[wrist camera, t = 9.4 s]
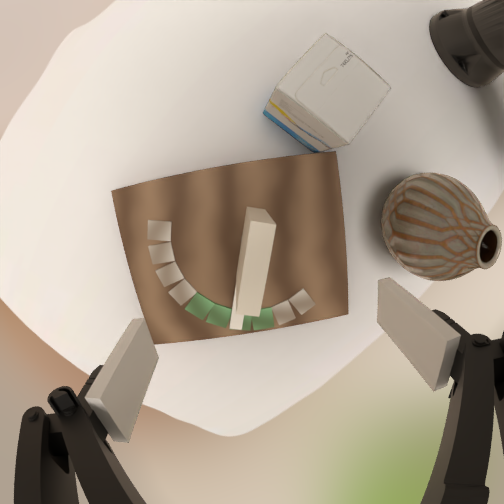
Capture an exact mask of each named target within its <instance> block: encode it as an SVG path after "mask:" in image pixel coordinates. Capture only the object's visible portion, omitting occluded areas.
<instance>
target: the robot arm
mask: <svg viewBox="0 0 504 504" xmlns="http://www.w3.org/2000/svg"><path fill="white" fill-rule="evenodd" d="M430 33H431V37H432V40H433V43H434V46H435V48H436V50H437V52H438V54H439V55H440V57H441V59H442V60H443V62H444V63H445V64H446V66H447V67H448V68H449V69H450V71H451V72H452V73H453V74H454V75H455V76H456V77H457V78H458V79H460V80H461V81H462V82H464V83H465V84H467V85H469V86H472V87H481V86H485V85H488V84H490V83H491V82H492V81H493V80H495V79H496V78H497V77H498V76H499V75H500V74H501V73H503V72H504V0H483V1H481V2H479V3H477V4H475V5H473V6H471V7H469V8H465V9H451V10H444V11H441V12H439V13H438V14H436V15H435V16H433V17H432V19H431V22H430ZM377 323H378V324H379V325H380V326H381V327H382V329H383V330H384V331H385V332H386V333H387V334H388V336H389V337H390V338H391V339H392V340H393V342H394V343H395V344H396V345H397V346H398V348H399V349H400V350H401V351H402V353H403V354H404V355H405V356H406V357H407V359H408V360H409V361H410V362H411V364H412V365H413V366H414V367H415V369H416V370H417V371H418V372H419V374H420V375H421V376H422V378H423V379H424V380H425V381H426V383H427V384H428V385H429V386H430V388H431V389H432V390H433V391H436V390H438V389H441V388H443V387H445V386H447V383H448V380H449V377H450V376H451V377H452V378H453V379H454V383H453V386H452V389H451V392H450V395H449V398H451V399H450V404H449V409H448V414H447V419H446V424H445V428H444V432H443V437H442V441H441V444H440V449H439V452H438V455H437V459H436V462H435V465H434V468H433V471H432V474H431V477H430V480H429V483H428V486H427V489H426V491H425V494H424V496H423V499H422V501H421V504H487V502H488V498H489V488H488V487H486V486H485V479H486V474H487V469H488V462H489V457H490V449H491V441H492V431H493V418H494V417H493V416H494V406H495V410H496V415H497V419H498V424H499V429H500V435H501V441H502V447H503V454H504V332H503V335H502V338H501V339H496V340H490V339H489V338H488V337H487V336H485V335H482V334H473V335H470V334H469V333H468V332H467V331H465V329H463V328H462V327H461V326H460V325H458V324H457V323H455V321H454V320H452V319H450V317H449V316H447V315H446V314H445V313H443V312H441V311H438V310H430V309H429V308H428V307H426V306H425V305H424V304H423V303H422V302H421V301H419V300H418V299H417V298H416V297H414V296H413V295H412V294H411V293H409V292H408V291H407V290H405V289H404V288H403V287H402V286H400V285H399V284H398V283H397V282H395V281H394V280H393V279H391V278H390V277H389V278H385V279H380V280H378V312H377ZM158 359H159V357H158V354H157V351H156V349H155V346H154V343H153V341H152V338H151V335H150V332H149V329H148V327H147V324H146V321H145V318H140V319H132V321H131V322H130V324H129V326H128V327H127V329H126V330H125V332H124V333H123V335H122V337H121V338H120V340H119V341H118V343H117V344H116V346H115V348H114V349H113V351H112V352H111V354H110V356H109V357H108V359H107V361H106V362H105V364H104V365H100V366H98V367H97V368H96V369H95V370H94V371H93V372H92V373H91V375H90V377H89V379H88V380H87V382H86V385H84V386H83V388H82V390H81V391H80V393H79V395H78V396H77V397H76V395H75V393H74V391H73V390H72V389H71V388H70V387H68V386H62V387H59V388H57V389H55V390H53V391H52V392H51V393H50V394H49V396H48V403H49V404H50V406H51V407H52V409H53V410H54V412H55V414H46V413H45V411H44V410H43V409H42V408H41V407H32V408H30V409H28V410H27V411H26V412H25V413H24V415H23V417H22V422H21V428H20V434H19V441H18V448H17V456H16V468H15V482H14V504H79V500H78V494H77V486H76V478H75V472H76V474H77V477H78V479H79V482H80V484H81V487H82V489H83V491H84V493H85V496H86V498H87V500H88V502H89V504H146V503H145V501H144V500H143V498H142V497H141V496H140V494H139V493H138V491H137V490H136V488H135V487H134V485H133V484H132V482H131V481H130V479H129V477H128V476H127V474H126V473H125V471H124V469H123V468H122V466H121V464H120V463H119V461H118V459H117V458H116V456H115V454H114V452H113V450H112V449H111V447H110V445H109V443H108V442H107V441H106V437H107V434H109V435H110V436H111V438H112V439H113V441H118V442H127V443H129V440H130V437H131V434H132V431H133V428H134V425H135V422H136V419H137V416H138V414H139V410H140V408H141V405H142V402H143V399H144V397H145V394H146V391H147V388H148V386H149V383H150V380H151V377H152V375H153V372H154V369H155V367H156V364H157V361H158Z"/></svg>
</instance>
